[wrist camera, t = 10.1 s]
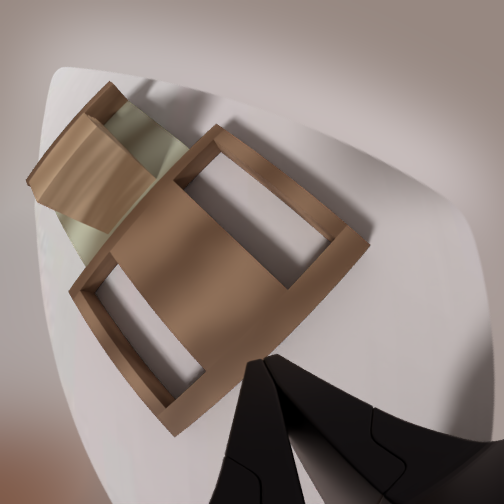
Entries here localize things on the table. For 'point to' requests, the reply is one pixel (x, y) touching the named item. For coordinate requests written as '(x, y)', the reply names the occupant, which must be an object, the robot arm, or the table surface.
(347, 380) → the table surface
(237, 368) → the brown wooden flat frame
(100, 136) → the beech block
